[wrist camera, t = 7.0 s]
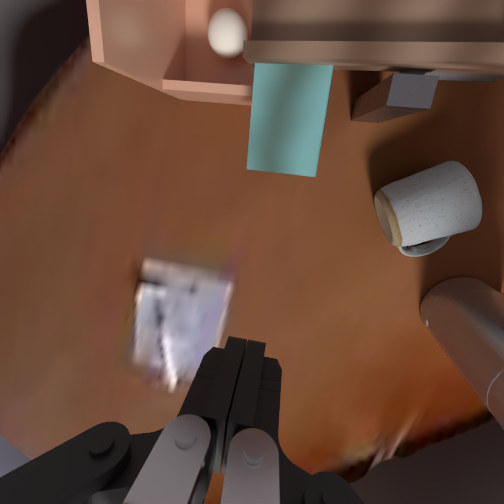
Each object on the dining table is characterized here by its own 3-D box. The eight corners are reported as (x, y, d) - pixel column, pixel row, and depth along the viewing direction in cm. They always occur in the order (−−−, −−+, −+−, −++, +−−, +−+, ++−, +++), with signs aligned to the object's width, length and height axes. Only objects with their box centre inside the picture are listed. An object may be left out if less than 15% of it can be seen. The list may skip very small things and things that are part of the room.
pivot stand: (412, -27, 27) (507, -162, 15) (378, 122, 31) (430, 108, 20) (379, -29, 27) (448, -162, 15) (350, 120, 32) (386, 105, 20)
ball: (232, -4, 24) (199, 4, 26) (229, 50, 26) (198, 54, 28) (257, 14, 28) (226, 20, 30) (253, 62, 29) (224, 64, 31)
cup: (293, -23, 28) (297, -216, 13) (279, 107, 32) (270, 74, 17) (180, -27, 29) (64, -212, 14) (181, 99, 33) (92, 61, 18)
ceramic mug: (364, 186, 34) (385, 198, 27) (437, 157, 32) (480, 161, 25) (387, 260, 37) (411, 289, 30) (455, 239, 35) (498, 264, 28)
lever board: (529, -24, 22) (671, -150, 13) (457, 185, 28) (517, 202, 19) (280, -15, 26) (250, -103, 17) (262, 164, 32) (234, 169, 23)
